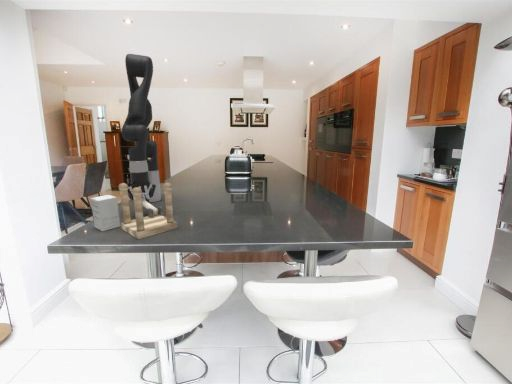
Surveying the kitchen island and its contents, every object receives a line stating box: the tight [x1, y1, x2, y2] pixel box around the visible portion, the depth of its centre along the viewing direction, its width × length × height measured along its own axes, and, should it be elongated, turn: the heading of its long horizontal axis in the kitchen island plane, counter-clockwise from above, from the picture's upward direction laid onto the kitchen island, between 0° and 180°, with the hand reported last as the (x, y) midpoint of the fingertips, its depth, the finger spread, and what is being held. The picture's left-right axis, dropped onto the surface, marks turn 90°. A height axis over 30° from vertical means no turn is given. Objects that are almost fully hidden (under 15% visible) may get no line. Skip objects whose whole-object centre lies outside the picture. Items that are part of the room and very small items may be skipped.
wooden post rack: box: [118, 182, 179, 240], centre depth 106 cm, size 16×17×19 cm
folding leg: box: [141, 197, 158, 215], centre depth 119 cm, size 3×3×14 cm
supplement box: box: [90, 194, 121, 232], centre depth 108 cm, size 7×7×13 cm
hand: (142, 207), depth 123 cm, fingers closed on folding leg, 3 cm apart
